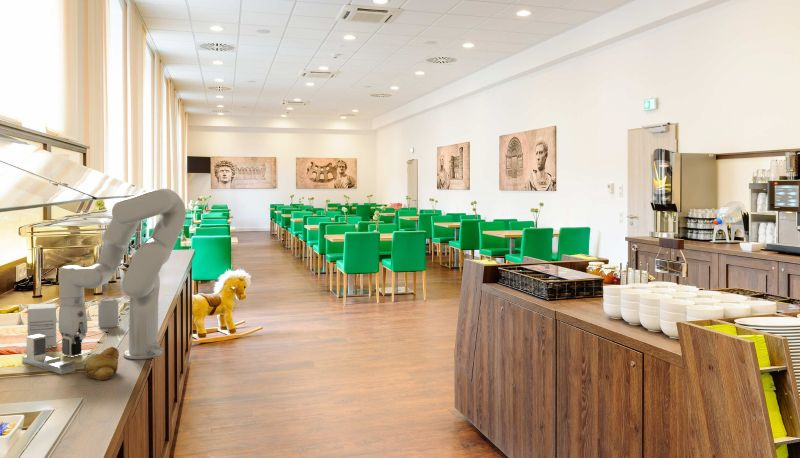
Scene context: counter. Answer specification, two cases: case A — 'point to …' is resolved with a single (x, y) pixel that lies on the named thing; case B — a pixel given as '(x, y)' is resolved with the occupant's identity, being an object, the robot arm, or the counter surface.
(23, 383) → the counter surface
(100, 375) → the bread roll
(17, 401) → the counter surface
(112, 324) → the grey upright block
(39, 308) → the supplement box
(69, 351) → the finger
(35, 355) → the rail
